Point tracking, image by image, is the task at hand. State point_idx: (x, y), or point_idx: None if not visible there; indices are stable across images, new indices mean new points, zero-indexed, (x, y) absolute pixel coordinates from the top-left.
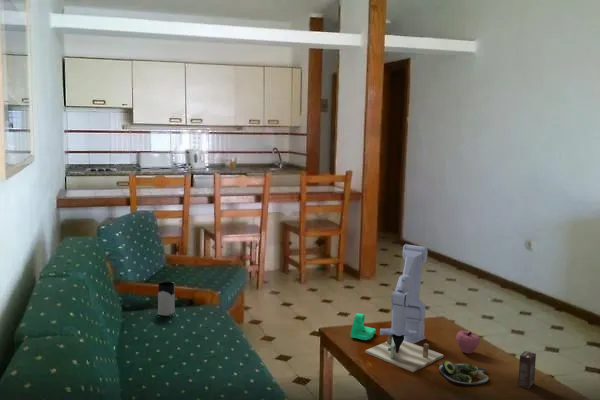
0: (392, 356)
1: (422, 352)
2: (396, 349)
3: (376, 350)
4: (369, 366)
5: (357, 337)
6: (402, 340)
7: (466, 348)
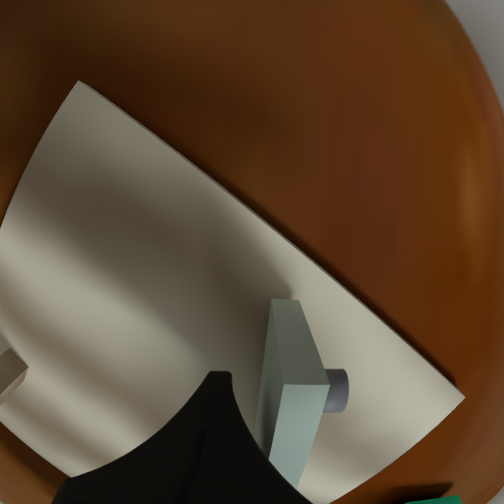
0: (279, 307)
1: (50, 427)
2: (227, 392)
3: (391, 425)
4: (473, 143)
5: (436, 502)
6: (87, 481)
7: None
